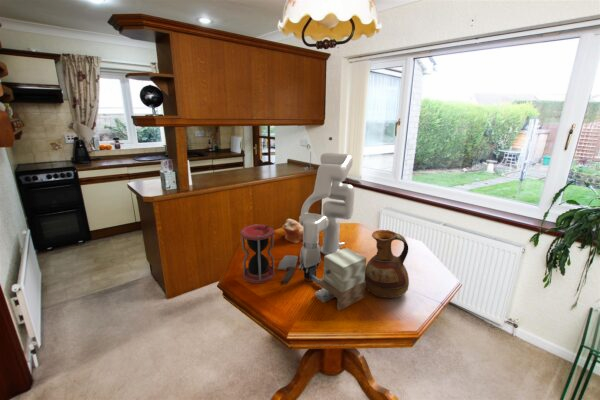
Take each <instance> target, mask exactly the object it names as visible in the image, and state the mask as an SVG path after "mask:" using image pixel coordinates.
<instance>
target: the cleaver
mask: <svg viewBox="0 0 600 400" xmlns="http://www.w3.org/2000/svg"><path fill="white" fill-rule="evenodd" d="M298 259H299V256H298V255H289V254H288V255H287V254H285V255H284V256H283V257H282V259H281V260H280V262H279V263H278V267H277V270H283V271H287V272H285V274H284V277H283V278H282V279H281V280H280V284H281V285H282V284H283V285H287V284H288V283H290V281H291V279H292V277H293V276H294V274H295V271H296V267H297V264H298Z"/></svg>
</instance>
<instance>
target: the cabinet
mask: <svg viewBox="0 0 600 400" xmlns="http://www.w3.org/2000/svg"><path fill="white" fill-rule="evenodd" d="M323 257H324V258H323V276H322V278H318V279H319V285H321V286H322V287H323V288H325V289H326V290H327V291H329V292H330V293H332V294H333V295H334V296H336V297H337V298H336V297H335V298H336V299H337V301H336V302H337V303H336V309H337V310H338V311H341V310H343V309H345V308H347V307H349V306H351V305H352V304H354V303H356V302H358V301H360V300H362V299H364V298H365V297H366V289H367V288H366V282H365V270H366V265H367V257H366V256H364V255H363V254H360V253H358V252H356V251H354V250H352V249H350V248H348V247H345V248H342V249H341V250H340V251H337V252H334V253H331V254H329V255H324V256H323ZM319 285H318V286H319ZM321 286H320V287H321ZM322 287H321V288H322ZM323 288H322V289H323Z"/></svg>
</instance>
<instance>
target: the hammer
mask: <svg viewBox="0 0 600 400" xmlns="http://www.w3.org/2000/svg"><path fill="white" fill-rule="evenodd" d="M308 272H309V280H307V281H308V282H311V281H313V282H314V283H315V284H317V285H318V286H320V287H321V289H323V287H322V286H321V285H319V279H320V278H318V277H317V269H316V266H315V265H313V266H310V267H309V269H308ZM334 298H335V299H338V298H337V297H336V296H334Z"/></svg>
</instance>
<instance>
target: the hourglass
mask: <svg viewBox="0 0 600 400" xmlns="http://www.w3.org/2000/svg"><path fill="white" fill-rule="evenodd" d="M274 233H275V230H274V228H273V227H272V226H270V225H269V224H268V225H267V224H263V223H258V224H250V225H247V226H245V227H243V228H242V229H241V231H240V236H241V244H242V245H241V247H242V250H243V251H244V252H245V257H243V262H242V264H243V266H242V267H243V273H242V274H243V278H244V280H245V281H246V282H249V283H251V284H262V283H266V282H269V281H270V280H272V279H273V278H274V277H275V272H276V271H275V264H274V263H275V259H274V256H273V255H272V252H271V250H272V249H273V247H274V235H275V234H274ZM269 238H270V247H269V248H268V250H267V254H268V256H269V257H270V259H271V265H270V262H269V259H268V258H267V256H265V255H264V253H262V252H263V251H264V250H265V249H266V247H268V245H269ZM245 240H246V244H247V246H248V248H250V250H252V252H254V253H255V254H254V255H252V257H251V258H250V259H249V261H248V267H247V266H246V263H247V262H246V260H247V259H248V258H249V255H250V253H249V250H247V249H246V247H245V245H246V244H245Z"/></svg>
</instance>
